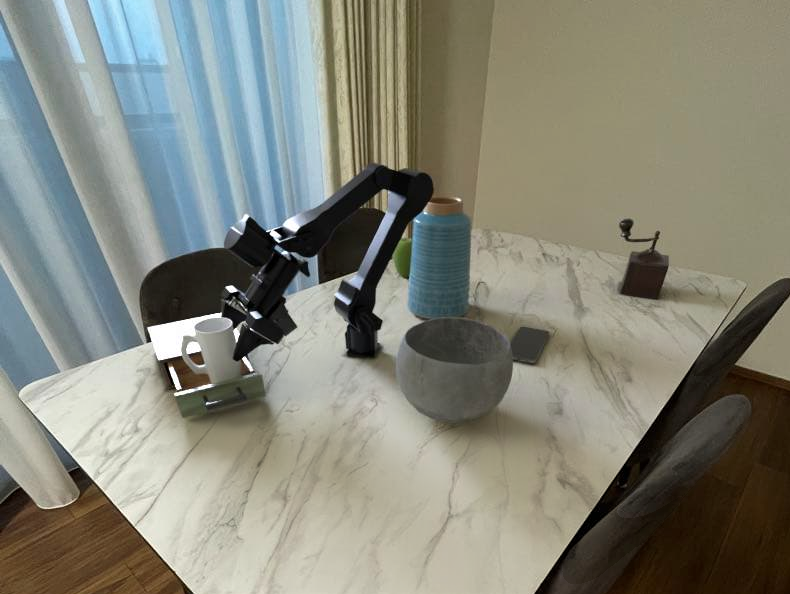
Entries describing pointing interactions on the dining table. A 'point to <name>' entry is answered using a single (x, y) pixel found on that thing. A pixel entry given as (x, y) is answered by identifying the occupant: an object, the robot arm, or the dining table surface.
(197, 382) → the drawer
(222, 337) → the mug
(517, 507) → the dining table surface
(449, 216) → the vase
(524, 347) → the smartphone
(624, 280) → the manual coffee grinder
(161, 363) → the cabinet
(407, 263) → the green rounded piece
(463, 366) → the bowl
